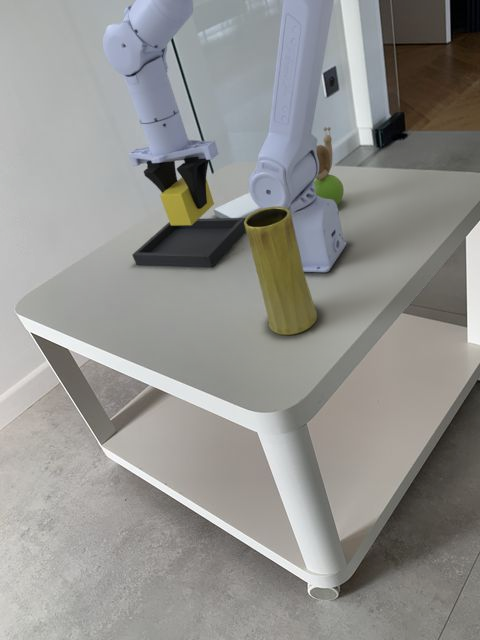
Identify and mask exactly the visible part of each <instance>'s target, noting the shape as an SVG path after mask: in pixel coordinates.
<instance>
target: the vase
mask: <svg viewBox="0 0 480 640" xmlns="http://www.w3.org/2000/svg"><path fill="white" fill-rule="evenodd" d="M244 225H245V229H246V231H245V233H246V237H247V240H248V243H249V246H250V250H251V254H252V258H253V262H254V266H255V269H256V274H257V277H258V281H259V286H260V290H261V294H262V298H263V302H264V307H265V310H266V314H267V315H266V316H267V318H268V325H269V328H270V330H271V331H272V332H273V333H275V334H278V335H283V336H292V335H297V334H301V333H303V332H305V331H307V330H309V329H310V328H311V327H313V325H314V324H315V323H316V321H317V319H318V312H317V309H316V307H315V304H314V300H313V297H312V294H311V290H310V287H309V285H308V281H307V278H306V274H305V272H304V271H303V267H302V261H301V256H300V252H299V247H298V243H297V239H296V234H295V230H294V225H293V220H292V216H291V213H290V211H289V210H288V209H287V208H285V207H279V206H274V207H267V208H263V209H260V210H258V211H256V212H254V213H252V214H250V215H249V216H248V217H247V218H246V219H245V221H244Z"/></svg>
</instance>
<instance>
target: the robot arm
mask: <svg viewBox="0 0 480 640" xmlns="http://www.w3.org/2000/svg"><path fill="white" fill-rule="evenodd" d="M334 1H335V0H283V1H282V8H281V9H282V10H281V20H280V27H279V35H278V36H279V37H278V44H277V45H278V46H277V54H276V55H277V56H276V62H275V63H276V64H275V74H274V81H273V91H272V99H271V102H272V103H271V108H270V109H271V110H270V118H269V127H268V134H267V135H266V138H265V141H264V142H263V144H262V147H261V148H260V151H259V153H258V156H257V162H256V166H255V169H254V170H253V172H251V175H250V176H249V180H248V193H250V195H251V197H252V199H253V200H254V202H255V203H256V204H257V205H258V206H259V207H260V208H261V209H263V208H267V207H274V206H279V207H285V208H287V209H288V210H289V211H290V213H291V216H292V220H293V225H294V230H295V234H296V239H297V243H298V247H299V252H300V256H301V261H302V267H303V271H304V273H329V272H330V270H331V268H332V267H333V265H334V264H335V262H336V261H337V259H338V258H339V257H340V256H341V254H342V252H343V251H344V249H345V248H346V246H347V241H345V240H344V235H343V234H344V233H343V229H342V223H341V217H340V213H339V207H338V204H336V203H335V201H334V200H332V199H325V198H322V197H319V196H317V195H316V192H315V184H314V181H315V180H316V177H317V175H318V172H319V161H318V157H317V152H316V147H317V146H318V138H317V137H316V136H315V135H314V134H313V133H312V131H313V125H314V119H315V114H316V107H317V102H318V96H319V90H320V84H321V78H322V72H323V66H324V60H325V55H326V50H327V49H326V48H327V42H328V38H329V37H328V36H329V32H330V26H331V19H332V13H333V7H334ZM193 12H194V1H193V0H135V1H134V2H133V4H130V5H128V6H126V7H125V9H124V10H123V15H124V17H123V20H122V22H119V23H118V22H114V23H111V24H109V25H107V26H106V29H105V32H104V34H103V38H102V48H103V53H104V56H105V58H106V61H107V62H108V64H109V65H110V66H111V67H112V68H113V70H114V71H116V72H117V73H119V74H121V75H122V77H123V80H124V83H125V86H126V88H127V91H128V94H129V96H130V100H131V102H132V105H133V107H134V110H135V113H136V115H137V118H138V121H139V123H140V127H141V130H142V132H143V134H144V137H145V141H146V143H147V146H145V147H139V148H135V149H134V150H132V151H130V152H128V156H129V159H130V161H131V162H130V163H131V165H132V167H138V166H140V165H144V164H146V165H147V166H146V169H144V170H143V175H144V176H145V178H147V180H149V181H150V182H151V183H152V184H154V186H156V188H157V189H158V190H159V191H160V192H161V194H162V193H163V192H164V191H166V190H167V189H168V188H169V187H171V186H172V185H173V184H174V183H175V182H177V181H178V177H177V172H178V174H179V175H180V176H181V178H183V179H184V181H185V183H186V184H187V186H188V188H189V191H190V193H191V196H192V199H193V201H194V203H195V205H196V207H197V209H201V208H202V207H203V206H205V205H206V204H207V196H206V179H207V173H208V167H209V162H210V161H211V160H214V158H216V157H217V156H218V155H219V151H218V147H217V143H216V141H215V140H197V139H196V140H195V139H189V138H188V137H189V136H188V135H187V132H186V129H185V125H184V122H183V119H182V116H181V112H180V109H179V106H178V102H177V100H176V97H175V94H174V91H173V87H172V84H171V81H170V78H169V75H168V69H169V67H168V63H167V57H166V56H167V51H168V44H169V43H170V42H171V41H172V39H173V38H174V37H175V36H176V34H178V33H179V31H180V30H181V28H183V26H184V25H185V24H186V23H187V21H188V20H189V19H190V18H191V17H192V15H193ZM179 161H184V162H183V163H181V164H180V165H179V166H178V167H177V168H176V163H175V162H179Z"/></svg>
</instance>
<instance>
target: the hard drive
mask: <svg viewBox="0 0 480 640" xmlns="http://www.w3.org/2000/svg"><path fill="white" fill-rule="evenodd" d="M260 209H261V208H260V207H259V206H258V205H257V204H256V203H255V202H254V200H253V199H252V197H251V195H250V192H248V193H245V194H244V195H243V194H242V195H241V196H238V197H237V198H235V199H232V200H230V201H228V202H225V203H224V204H221V205H220V206H218V207H215V208H214V209H213V213H214V216H215V218H247V217H248V216H249V215H250V214H252V213H254V212H256V211H258V210H260Z"/></svg>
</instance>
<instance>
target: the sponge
mask: <svg viewBox="0 0 480 640" xmlns="http://www.w3.org/2000/svg"><path fill="white" fill-rule="evenodd" d="M206 196H207V204H206V205H205V206H203V207H202V208H201V209H197V207H196V205H195V203H194V201H193V199H192V196H191V193H190V191H189V188H188V186H187V184H186V183H185V181H184V179H183V178H182V177H180V178H179V179H177V182H175V183H174V184H173V185H172V186H171V187H169V188H168V189H167V190H166V191H164V192H163V193H162V192H161V193H160V194H159V198H160V200H161V203H162V206H163V208H164V211H165V213H166V217H167V219H168V223H169V222H170V224H171V226H174V225H193V224H194V223H195V222H196V221H197V220H198V219H201V218H202V216H203V215H204V214H205V213H206V212H207V211H209V210H210V209H212V207H213V206H214V205H215V202H214V199H213V195H212V192H211V189H210V185H209V183H208V180H207V178H206Z"/></svg>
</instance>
